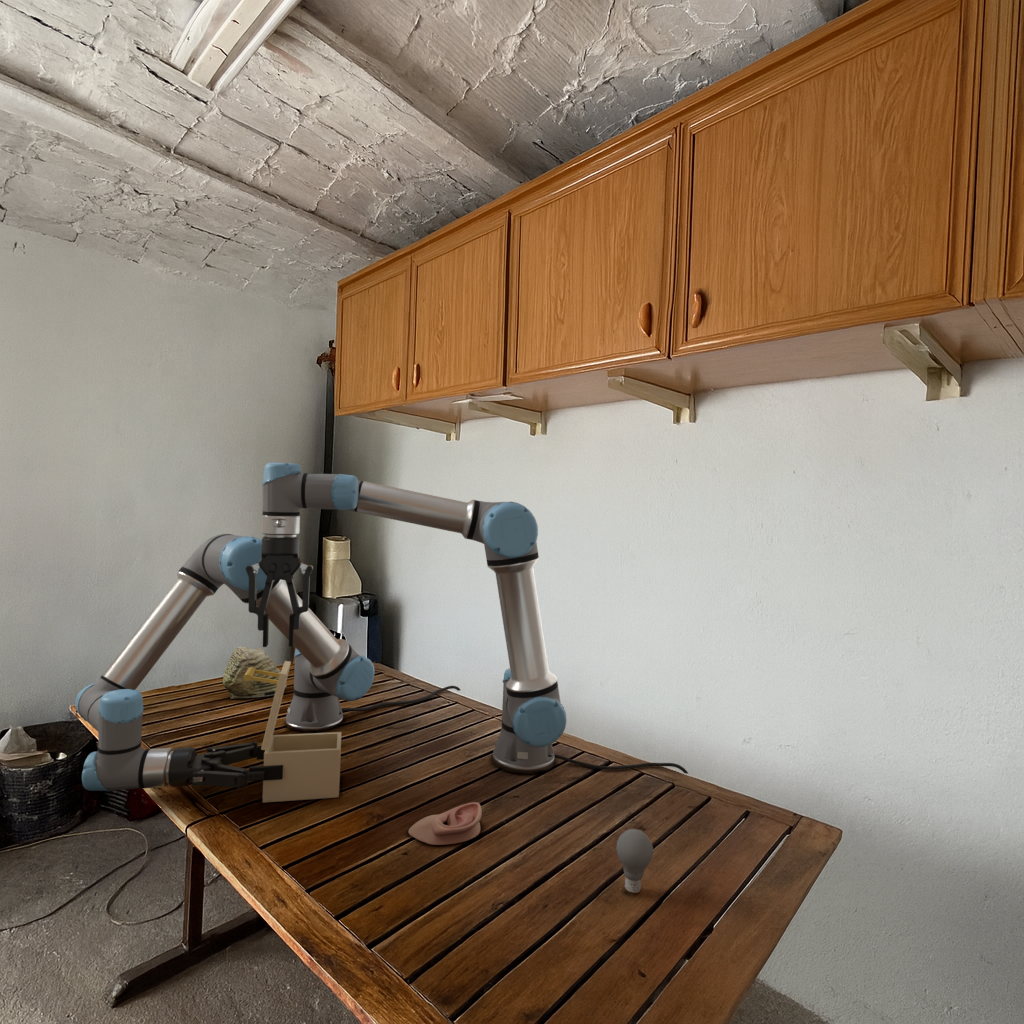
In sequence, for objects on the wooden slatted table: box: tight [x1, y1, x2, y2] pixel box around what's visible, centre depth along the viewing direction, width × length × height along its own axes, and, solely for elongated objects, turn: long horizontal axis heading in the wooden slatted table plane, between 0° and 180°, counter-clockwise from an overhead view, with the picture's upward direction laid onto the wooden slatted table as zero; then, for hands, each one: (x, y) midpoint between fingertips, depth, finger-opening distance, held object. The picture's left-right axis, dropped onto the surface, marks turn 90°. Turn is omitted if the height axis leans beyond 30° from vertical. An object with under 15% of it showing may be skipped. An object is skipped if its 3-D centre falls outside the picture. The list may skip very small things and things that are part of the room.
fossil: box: [222, 646, 288, 699], centre depth 198 cm, size 9×18×15 cm, turn 132°
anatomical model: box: [407, 801, 483, 846], centre depth 122 cm, size 13×4×12 cm
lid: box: [243, 660, 292, 750], centre depth 134 cm, size 16×10×8 cm
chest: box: [262, 731, 342, 803], centre depth 137 cm, size 15×10×10 cm
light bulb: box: [615, 828, 654, 894], centre depth 106 cm, size 6×6×10 cm
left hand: (285, 761), depth 136 cm, fingers closed on chest, 10 cm apart
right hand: (278, 645), depth 135 cm, fingers open, 4 cm apart
